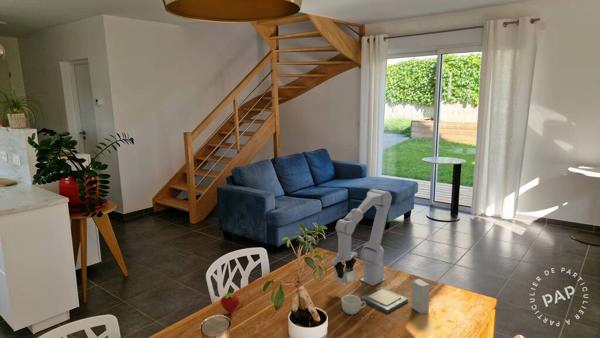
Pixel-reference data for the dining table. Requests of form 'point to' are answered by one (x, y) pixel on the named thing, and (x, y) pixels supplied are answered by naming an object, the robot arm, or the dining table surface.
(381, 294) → the stand
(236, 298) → the strawberry
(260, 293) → the dining table surface
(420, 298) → the skincare box
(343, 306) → the teacup
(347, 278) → the block
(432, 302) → the dining table surface
